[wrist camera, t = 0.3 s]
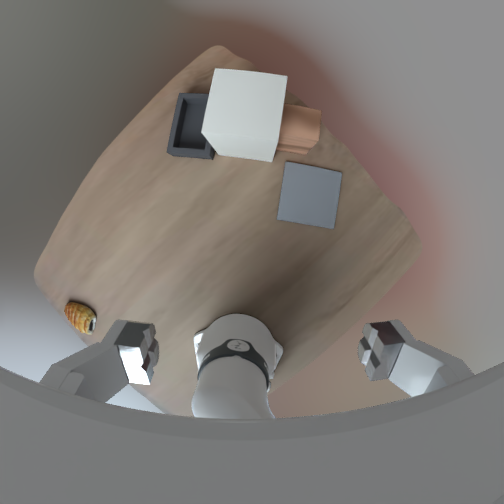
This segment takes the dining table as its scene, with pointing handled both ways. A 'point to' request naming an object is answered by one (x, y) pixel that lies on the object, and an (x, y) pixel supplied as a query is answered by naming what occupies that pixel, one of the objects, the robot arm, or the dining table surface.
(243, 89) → the white arch frame
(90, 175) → the dining table surface
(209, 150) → the bin
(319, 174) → the mat
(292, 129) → the block
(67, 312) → the pastry
